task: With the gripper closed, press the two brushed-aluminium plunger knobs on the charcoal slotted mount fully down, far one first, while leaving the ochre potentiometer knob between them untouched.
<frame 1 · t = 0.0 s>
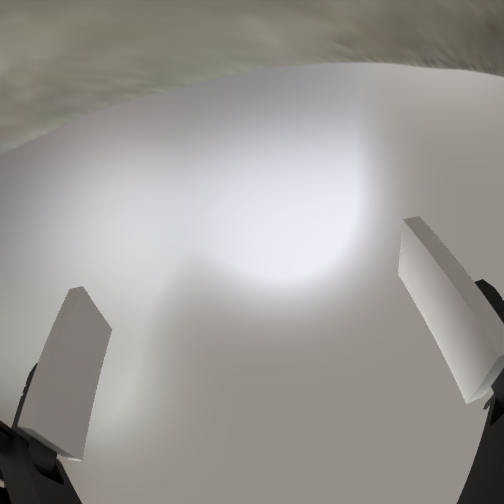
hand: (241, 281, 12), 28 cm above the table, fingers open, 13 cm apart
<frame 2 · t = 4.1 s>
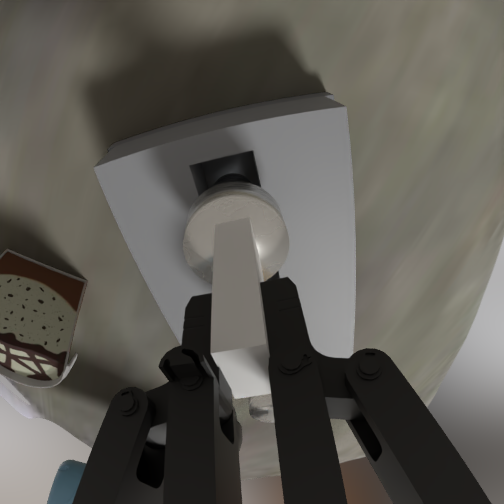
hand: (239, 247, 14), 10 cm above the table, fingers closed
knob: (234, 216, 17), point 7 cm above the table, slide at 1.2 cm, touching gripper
mount: (251, 251, 26), on the table
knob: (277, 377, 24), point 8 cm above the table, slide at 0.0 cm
pot knob: (261, 321, 20), point 8 cm above the table, slide at 0.0 cm
food container: (45, 285, 27), on the table
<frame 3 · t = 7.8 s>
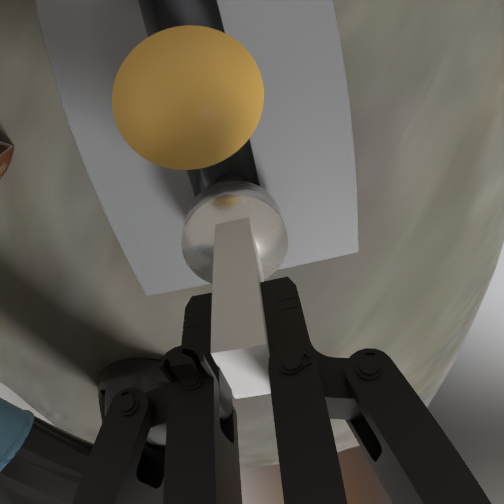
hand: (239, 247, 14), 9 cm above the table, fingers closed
mount: (205, 76, 18), on the table
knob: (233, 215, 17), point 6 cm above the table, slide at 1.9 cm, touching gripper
pot knob: (194, 89, 11), point 8 cm above the table, slide at 0.0 cm
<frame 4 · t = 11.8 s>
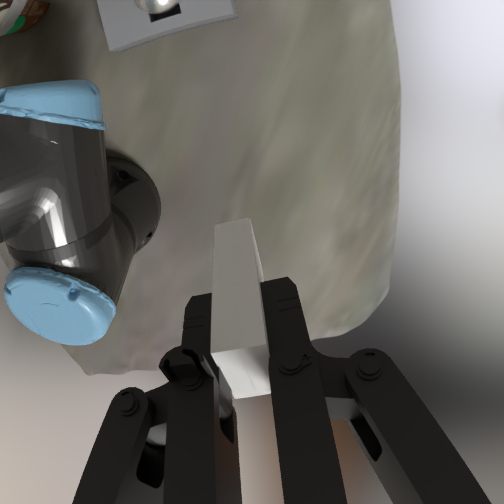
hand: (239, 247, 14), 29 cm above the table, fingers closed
food container: (19, 19, 25), on the table
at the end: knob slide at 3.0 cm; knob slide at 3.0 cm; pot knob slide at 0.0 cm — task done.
